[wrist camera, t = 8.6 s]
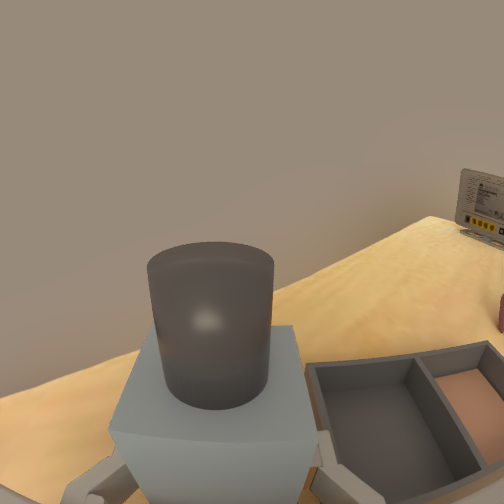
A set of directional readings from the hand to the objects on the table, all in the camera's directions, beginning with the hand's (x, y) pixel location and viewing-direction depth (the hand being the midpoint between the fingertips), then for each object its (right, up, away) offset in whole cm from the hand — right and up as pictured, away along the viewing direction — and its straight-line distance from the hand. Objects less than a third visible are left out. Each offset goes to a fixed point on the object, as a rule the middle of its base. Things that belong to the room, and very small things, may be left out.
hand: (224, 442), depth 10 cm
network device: (+72, +10, +64) cm, 97 cm away
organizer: (+15, -8, +9) cm, 19 cm away
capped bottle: (0, -7, +1) cm, 7 cm away
